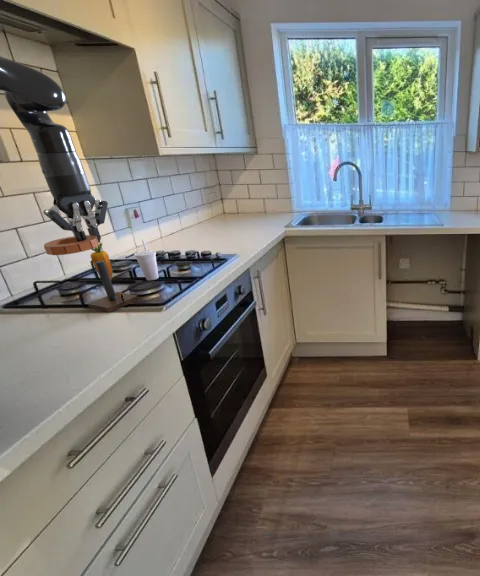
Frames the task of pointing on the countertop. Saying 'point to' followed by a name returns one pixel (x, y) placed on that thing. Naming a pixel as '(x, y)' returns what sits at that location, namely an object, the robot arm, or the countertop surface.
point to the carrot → (101, 259)
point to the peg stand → (110, 293)
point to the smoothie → (147, 263)
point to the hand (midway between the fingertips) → (90, 243)
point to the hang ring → (70, 245)
